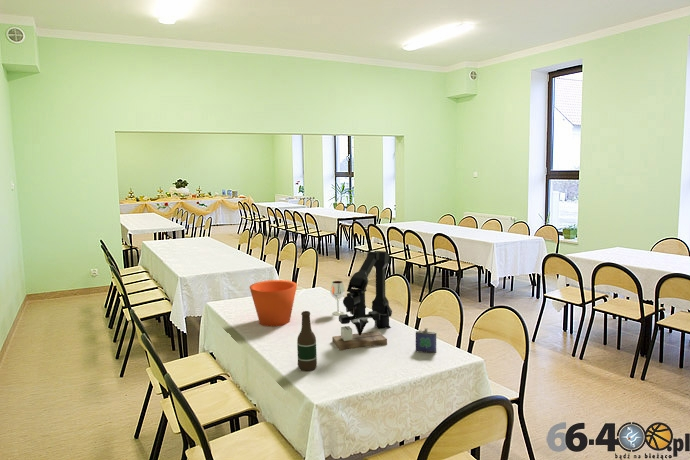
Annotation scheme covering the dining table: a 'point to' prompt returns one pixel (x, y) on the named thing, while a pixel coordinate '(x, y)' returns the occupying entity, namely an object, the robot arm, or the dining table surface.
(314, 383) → the dining table surface
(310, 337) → the beer bottle
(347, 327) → the fader knob
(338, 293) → the wineglass
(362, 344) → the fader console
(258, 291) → the flowerpot
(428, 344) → the flask
